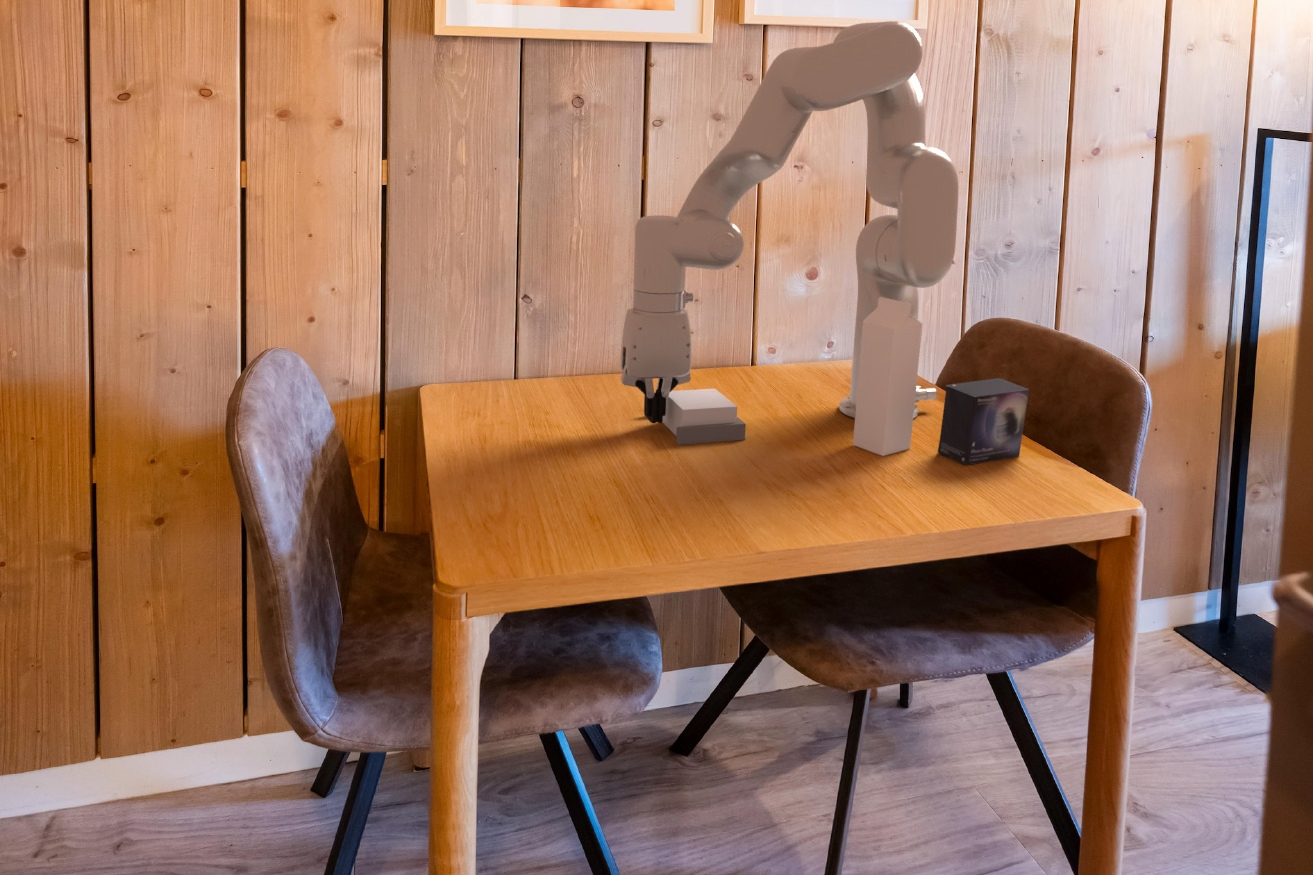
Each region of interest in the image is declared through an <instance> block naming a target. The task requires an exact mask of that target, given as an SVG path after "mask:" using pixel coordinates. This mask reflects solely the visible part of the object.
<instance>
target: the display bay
mask: <svg viewBox="0 0 1313 875" xmlns="http://www.w3.org/2000/svg"><path fill="white" fill-rule="evenodd" d="M746 425H747V424H746V423H745V422H744V421H743V420H742V419H740V418H739V417H738V416H737V421H736V422H734V423H721V424H708V425H695V426H682V427H677V432H676V436H675V437H676V438H675V441H676V445H678V446H683V445H696V444H697V445H698V444H707V443H708V444H709V443H720V442H734V441H745V440H746Z"/></svg>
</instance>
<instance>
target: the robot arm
mask: <svg viewBox="0 0 1313 875" xmlns="http://www.w3.org/2000/svg"><path fill="white" fill-rule="evenodd" d="M923 53H924V49H923V43H922V38H921V37H920V35H919V33H918V32H917V31H916V30H915V29H914V28H913V27H912V26H910V24H907V23H905V22H901V21H893V20H892V21H879V22H862V23H861V22H860V23H855V24H852V25H850V26H847V27H845V28H843V29H842V30H841V31H839V33H837V35H836V36H835V38H834V39H833V42H832V43H827V44H824V45H819V46H818V45H817V46H805V47H803V46H802V47H793V48H789V49H786V50H784V51H782V52H781V53H779V54H778V55H777V56H776V58H774V60H773V61H772V62H771V64H770V66H769V68H768V70H767V71H766V72H765V75H764V77H763V78H762V80H761V82H760V84H759V86H758V88H757V90H756V91H755V94H754V95H753V97H752V99H751V102H750V103H749V105H748V107H747V109H746V111H745V113H743V114H744V115H743V116H742V118H741V120H740V121H739V124H738V126H737V127H736V129H735V131H734V133H733V134H732V136H731V138H730V139H729V141H728V143H727V144H725V146H724V147H723V148H722V149H721V150H719V152H718V153H717V154H716V156H715V157H714V159H713V160H712V161H711V162H710V163H709V164H708V165H707V166H706V168H705V169H704V170H703V171H702V173H701V174H700V176H698V178H697V180H696V181H695V182H694V184H693V186H692V187H691V189H690V191H689V192H688V195H687V196H686V199H685V200H684V203H683V204H682V206H681V207H680V210H679V212H678V214H677V216H671V215H661V214H659V215H656V214H655V215H646V216H645V215H644V216H642V217H639V219H637V221H636V224H635V229H634V254H633V255H634V257H633V258H634V260H633V292H632V293H633V295H632V296H633V297H632V308H628V309H627V310H626V314H625V318H624V323H623V324H624V325H623V330H622V337H621V346H620V356H619V357H620V358H619V359H620V360H619V361H620V369H621V371H622V374H621V376H620V377H621V378H620V382H621V384H623V385H624V386H629V387H631V388H638V390H639V391H640V392H641V393H643V395H644V398H643V399H644V400H643V401H644V402H643V404H644V405H643V414H644V416H645V418H646V419H647V420H648V421H649V422H650V424H653V425H654V424H656V423H658V424H662V423H663V416H665V414H666V397H668V396H669V393H670V392H671V391H674V389H675V388H676V387H677V386H679V385H683V384H687V383H689V382H690V381H691V379H692V378H691V373H690V372H691V369H692V357H693V356H692V355H693V352H692V336H691V335H692V333H691V324H690V318H689V317H690V316H689V312H688V310H687V309H686V305H687V304H688V303H693V301H694V294H693V293H692V292H691V293H689V292H687V291H686V290H685V288H686V268H687V267H690V268H697V269H706V270H710V271H713V270H714V271H715V270H717V271H718V270H723V269H726V268H729V267H731V266H733V265H735V263H737V262H738V260H739V259H740V258H741V256H742V255H743V252H744V247H745V240H744V237H743V234H742V232H741V230H740V229H739V227H738V226H737V225H736V224H735V223H734V222H732V221H731V220H728V218H730V215H731V214H732V211H733V210H734V209H735V207H736V205H737V204H738V203H739V201H741V199H742V198H743V197H744V196H745V195H746V193H748V191H750V190H751V189H752V188H754V187H755V186H757V185H758V184H760V183H761V182H763V181H765V180H767V179H768V178H771V177H772V176H773V175H775V174H776V173H777V172H779V171H780V170H781V169H782V167H783V166H784V165H785V163H786V162H787V160H788V158H789V156H790V154H791V152H792V150H793V149H794V146H795V145H796V143H797V140H798V139H799V137H800V135H801V133H802V131H803V130H804V128H805V126H806V124H807V123H808V121H809V119H810V118H811V115H812V113H813V112H825V111H831V110H833V109H834V110H835V109H837V108H841V107H844V106H847V105H850V104H852V103H856V102H858V101H863V104H864V107H865V111H866V112H865V113H866V118H867V119H866V121H867V122H866V124H867V126H866V127H867V137H866V138H867V142H866V143H867V144H866V169H865V170H866V172H865V173H866V174H865V175H866V177H865V180H866V182H865V184H866V189H867V192H868V195H869V196H870V197H871V199H873V201H875V202H876V203H878V204H880V205H882V206H885V207H889V208H892V209H897V215H896V214H895V215H894V214H887V215H886V214H885V215H880V216H877V217H875V218H873V219H870V221H868V222H867V223H866V224H865V225H864V226H863V228H862V229H861V231H860V232H859V235H858V237H857V240H856V245H855V246H856V247H855V262H856V264H855V265H856V273H857V302H856V303H857V304H856V305H857V306H856V316H855V326H854V337H853V338H854V339H853V350H852V351H853V352H852V362H851V363H852V364H851V374H850V375H851V377H850V390H849V396H847V397H844V398H842V399H841V400H840V401H839V407H838V408H839V411H840V413H843V414H844V415H845V416H847V417H850V418H853V419H855V414H856V402H857V389H858V377H859V365H860V353H861V340H862V328H863V320H864V319H865V318H867V317H868V316H869V315H870V314H871V313H872V312H873V311H874V310H875V309H876V308H877V307H878V299H879V297H883V298H888V299H892V300H897V301H902V302H906V303H910V304H911V311H910V314H911V315H912V316H913V317H914V318H916V319H917V320H918V315H919V293H918V292H919V291H918V288H921V289H922V288H930V287H933V286H935V285H937V284H938V283H940V282H942V280H943V279H944V278H946V276H947V275H948V273H949V271H950V269H951V267H952V265H953V261H954V258H955V252H956V244H957V243H956V242H957V231H958V230H957V227H958V226H957V225H958V224H957V223H958V209H959V178H958V174H957V171H956V167H955V165H954V163H953V161H952V159H951V158H950V157H949V155H947V154H946V152H944V151H943V150H941V149H938V148H936V147H933V146H927V145H926V105H925V104H926V103H925V97H924V93H923V91H922V87H921V84H920V82H919V80H918V77H917V76H916V74H915V73H916V72H917V71H918V69H919V67H920V65H921V63H922V59H923V55H924V54H923ZM654 379H658V380H657V383H656V384H657V386H656V390H655V388H654ZM937 392H938V391H937V389H936V388H935V387H926V388H922V386H920V385H916V394H915V404H914V414H913V419H915V418H916V417H917V416H918V413H919V407H918V405H916V403H919V402H920V401H932V400H936V399H937V396H938V394H937Z"/></svg>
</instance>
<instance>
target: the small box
mask: <svg viewBox="0 0 1313 875" xmlns="http://www.w3.org/2000/svg"><path fill="white" fill-rule="evenodd" d="M1029 391H1030V389H1029V388H1026V387H1025V386H1021V385H1018V384H1016V383H1013V382H1011V381H1008V380H1006V379H1003V378H1001V377H997V378H995V377H994V378H989V379H981V380H975V381H974V380H973V381H967V382H959V383H950V384H946V385H945V396H944V403H943V404H944V405H943V412H942V419H941V420H942V421H941V426H940V434H939V442H938V449H937V453H938V454H940V455H942V456H944V457H946V458H949V459H951V460H952V461H953V460H954V461H955V462H958V463H960V464H962V465H965V466H969V465H976V464H981V463H986V462H987V463H988V462H993V461H998V460H1004V459H1011V458H1017V457H1020V453H1021V446H1022V441H1023V440H1022V438H1023V433H1024V427H1025V426H1024V425H1025V418H1026V412H1027V405H1028V398H1029Z"/></svg>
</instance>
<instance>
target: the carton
mask: <svg viewBox="0 0 1313 875" xmlns="http://www.w3.org/2000/svg"><path fill="white" fill-rule="evenodd" d="M737 417H738V405H736V404H735V403H733V402H732V401H731V400H730V399H729V398H728V397H727V396H725V395H724V394H722V393H721V392H720V391H718V390H717V389H716V388H700V389H685V390H684V389H683V390H672V391H671V392H670V393H669V396H668V397H666V414H665V416H663V422H662V423H663V424H664V426H666V427H667V429H668V430H670V432H672V434H673V435H674V436H675V437H676V432H677V427H682V426H695V425H708V424H721V423H734V422H736V421H737Z"/></svg>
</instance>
